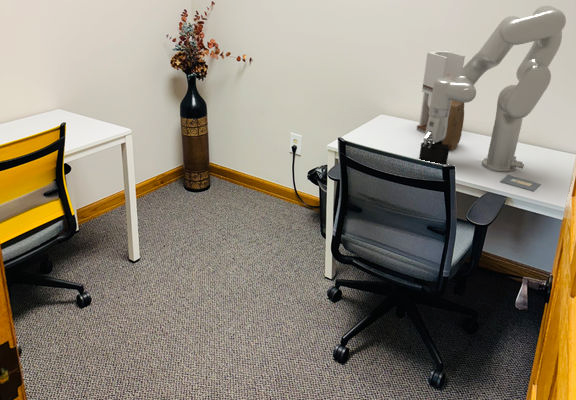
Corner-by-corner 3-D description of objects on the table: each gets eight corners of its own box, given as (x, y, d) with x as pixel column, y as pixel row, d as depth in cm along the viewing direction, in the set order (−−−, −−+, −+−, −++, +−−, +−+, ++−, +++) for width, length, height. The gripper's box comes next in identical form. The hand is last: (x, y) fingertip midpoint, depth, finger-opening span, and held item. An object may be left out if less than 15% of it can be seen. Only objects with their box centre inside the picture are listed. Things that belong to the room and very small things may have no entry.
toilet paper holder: (416, 129, 250) (427, 52, 235) (434, 126, 255) (446, 50, 239) (433, 137, 241) (445, 57, 226) (451, 134, 246) (465, 55, 230)
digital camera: (445, 159, 218) (447, 143, 215) (446, 164, 213) (449, 148, 210) (418, 157, 219) (421, 141, 216) (419, 162, 214) (422, 146, 211)
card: (540, 184, 198) (540, 183, 198) (533, 191, 193) (533, 190, 193) (507, 175, 205) (507, 174, 205) (500, 182, 200) (500, 180, 199)
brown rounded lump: (449, 152, 225) (457, 105, 216) (433, 148, 229) (440, 101, 221) (461, 146, 232) (469, 100, 224) (445, 141, 237) (453, 96, 228)
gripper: (438, 118, 199) (430, 161, 207) (457, 109, 212) (449, 150, 219) (419, 113, 203) (412, 156, 211) (439, 104, 216) (432, 145, 223)
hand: (431, 153), depth 215 cm, fingers open, 9 cm apart
